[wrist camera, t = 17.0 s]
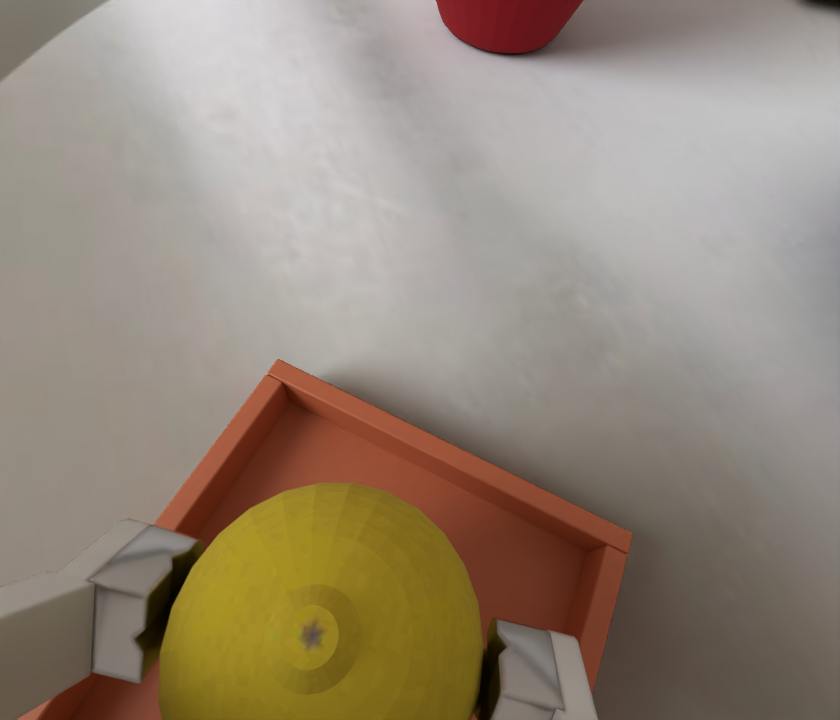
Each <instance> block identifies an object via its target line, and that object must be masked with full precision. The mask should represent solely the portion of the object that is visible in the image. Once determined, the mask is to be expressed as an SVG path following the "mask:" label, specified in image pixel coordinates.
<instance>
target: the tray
mask: <svg viewBox="0 0 840 720" xmlns="http://www.w3.org/2000/svg"><path fill="white" fill-rule="evenodd" d="M317 483H357V484H361V485H365V486H368V487H372V488H376V489H380V490H383V491H387V492H389V493H391V494H393V495H394V496H396V497H398V498H400V499H402V500H403V501H405V502H407V503H409V504H410V505H412V506H414V507H416V508H418V509H419V510H420V511H421V512H422V513H423V514H424V515H425V516H427V517H428V518H429V519H430V520H431V521H432V522H433V523H434V524H435V525H436V526H437V527H438V528H439V529H440V530H441V531H442V532H444V533H445V535H446V536H447V538H448V540H449V541H450V543H451V544H452V546H453V547H454V549H455V551H456V552H457V554H458V555H459V557H460V558H461V560H462V561H463V563H464V565H465V567H466V570H467V572H468V575H469V578H470V581H471V584H472V586H473V589H474V592H475V595H476V598H477V601H478V603H479V611H480V619H481V627H482V635H483V643H484V650H485V649H486V648H487V631H488V628H489V625H490V622H491V620H492V618H493V617H498V618H501V619H505V620H509V621H513V622H517V623H521V624H525V625H529V626H532V627H536V628H540V629H544V630H551V631H555V632H559V633H563V634H567V635H571V636H574V637H575V638H576V639H577V641H578V644H579V648H580V652H581V655H582V659H583V663H584V667H585V671H586V675H587V678H588V682H589V686H590V690H591V694H593V690H594V686H595V682H596V678H597V674H598V670H599V666H600V662H601V658H602V655H603V651H604V647H605V643H606V639H607V635H608V631H609V627H610V623H611V619H612V615H613V612H614V608H615V604H616V600H617V596H618V592H619V588H620V584H621V580H622V576H623V572H624V568H625V565H626V561H627V555H626V554H628V552H629V549H630V545H631V541H632V537H633V534H632V533H631V532H629V531H627V530H625V529H623V528H621V527H619V526H617V525H615V524H613V523H611V522H609V521H607V520H605V519H603V518H601V517H599V516H596V515H594V514H592V513H590V512H588V511H586V510H584V509H582V508H580V507H578V506H576V505H574V504H572V503H570V502H568V501H566V500H564V499H562V498H560V497H558V496H556V495H554V494H552V493H550V492H548V491H546V490H544V489H542V488H540V487H538V486H536V485H534V484H531V483H529V482H527V481H525V480H523V479H521V478H519V477H517V476H515V475H513V474H511V473H509V472H507V471H505V470H503V469H501V468H499V467H497V466H495V465H493V464H491V463H489V462H487V461H485V460H483V459H481V458H479V457H477V456H475V455H473V454H471V453H468V452H466V451H464V450H462V449H460V448H458V447H456V446H454V445H452V444H450V443H448V442H446V441H444V440H442V439H440V438H438V437H436V436H434V435H432V434H430V433H428V432H426V431H424V430H422V429H420V428H418V427H416V426H414V425H412V424H410V423H408V422H406V421H403V420H401V419H399V418H397V417H395V416H393V415H391V414H389V413H387V412H385V411H383V410H381V409H379V408H377V407H375V406H373V405H371V404H369V403H367V402H365V401H363V400H361V399H359V398H357V397H355V396H353V395H351V394H349V393H347V392H345V391H343V390H340V389H338V388H336V387H334V386H332V385H330V384H328V383H326V382H324V381H322V380H320V379H318V378H316V377H314V376H312V375H310V374H308V373H306V372H304V371H302V370H300V369H298V368H296V367H294V366H292V365H290V364H288V363H286V362H284V361H282V360H279V359H278V360H277V361H276V362H275V363H274V365H273V366H272V367H271V369H270V370H269V371H268V375H266V376H265V377H264V378H263V379H262V381H261V382H260V383H259V385H258V386H257V387H256V389H255V390H254V391H253V393H252V394H251V395H250V397H249V398H248V399H247V401H246V402H245V403H244V405H243V406H242V407H241V409H240V410H239V411H238V413H237V414H236V415H235V417H234V418H233V419H232V421H231V422H230V423H229V425H228V426H227V427H226V429H225V430H224V431H223V433H222V434H221V435H220V437H219V438H218V439H217V441H216V442H215V443H214V445H213V446H212V447H211V449H210V450H209V451H208V453H207V454H206V455H205V457H204V458H203V459H202V461H201V462H200V463H199V465H198V466H197V467H196V469H195V470H194V471H193V473H192V474H191V475H190V477H189V478H188V479H187V481H186V482H185V483H184V485H183V486H182V487H181V489H180V490H179V491H178V493H177V494H176V495H175V497H174V498H173V500H172V501H171V502H170V504H169V505H168V506H167V508H166V509H165V510H164V512H163V513H162V514H161V516H160V517H159V518H158V520H157V521H156V522H155V524H154V525H156V526H159V527H163V528H166V529H170V530H173V531H176V532H180V533H183V534H187V535H190V536H193V537H197V538H200V539H202V540H203V541H204V542H205V551H206V549H207V548H208V547H209V546H210V544H211V543H212V542H213V541H214V539H215V538H216V537H217V536H218V534H219V533H220V532H222V531H223V530H224V529H225V528H227V527H228V526H229V525H230V524H231V523H233V522H234V521H235V520H236V519H238V518H239V517H240V516H241V515H242V514H244V513H245V512H246V511H247V510H249V509H250V508H252V507H254V506H256V505H258V504H260V503H262V502H264V501H266V500H268V499H270V498H272V497H274V496H276V495H278V494H280V493H282V492H284V491H287V490H292V489H296V488H300V487H304V486H308V485H312V484H317ZM159 664H160V658H159V659H158V661H157V662H156V663H155V665H154V666H153V667H152V669H151V670H150V671H149V673H148V674H147V675H146V677H145V678H144V679H143V681H142V682H141V683H140V684H138V683H134V682H130V681H126V680H122V679H118V678H114V677H110V676H106V675H102V674H98V673H93V672H91V674H90V676H88V677H87V678H85V679H83V680H82V681H80V682H78V683H77V684H75V685H73V686H72V687H70V688H68V689H67V690H65V691H63V692H62V693H60V694H58V695H57V696H55V697H53V698H52V699H50V700H48V701H47V702H45V703H43V704H42V705H40V706H38V707H37V708H35V709H33V710H32V711H30V712H28V713H27V714H25V715H23V716H22V717H20V718H18V719H17V720H162V718H161V713H160V708H159V703H158V690H159ZM471 720H477V719H476V717H475V715H474V714H472V718H471Z"/></svg>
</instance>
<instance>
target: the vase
mask: <svg viewBox="0 0 840 720" xmlns="http://www.w3.org/2000/svg"><path fill="white" fill-rule="evenodd" d="M582 1H583V0H436V2H437V5H438V9H439V12H440V15H441V18H442V20H443V22H444V24H445V25H446V26H447V28H448V29H449V30H450V31H451V32H452V33H453V34H454V35H455V36H456V37H458V38H459V39H461V40H462V41H464V42H466V43H468V44H470V45H472V46H475V47H477V48H480V49H484V50H487V51H491V52H498V53H524V52H529V51H533V50H536V49H538V48H540V47H543V46H545V45H546V44H548V43H549V42H550V41H552V40H553V39H554V38H555V36H556V35H557V34H558V33H559V32H560V30H561V29H562V28H563V26H564V25H565V24H566V23H567V21H568V20H569V19H570V17H571V16H572V15H573V13H574V12H575V11H576V9H577V8H578V7H579V5H580V4H581V3H582Z"/></svg>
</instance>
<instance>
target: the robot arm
mask: <svg viewBox="0 0 840 720" xmlns="http://www.w3.org/2000/svg"><path fill="white" fill-rule="evenodd" d="M204 552H205V542H204V541H203V540H202V539H200V538H197V537H193V536H190V535H187V534H183V533H180V532H176V531H173V530H170V529H166V528H163V527H159V526H156V525H150V524H147V523H144V522H140V521H137V520H133V519H130V518H128V519H125V520H121V521H120V522H118V523H117V524H116V525H115V526H113V527H112V528H111V529H110V530H109V531H107V532H106V533H105V534H104V535H102V536H101V537H100V538H99V539H98V540H96V541H95V542H94V543H93V544H91V545H90V546H89V547H88V548H86V549H85V550H84V551H83V552H82V553H80V554H79V555H78V556H77V557H75V558H74V559H73V560H72V561H71V562H69V563H68V564H67V565H66V566H64V567H63V568H62V569H61V570H60V571H58V572H57V573H55V572H51V571H46V572H43V573H40V574H37V575H34V576H31V577H28V578H25V579H22V580H19V581H15V582H12V583H9V584H6V585H3V586H0V720H17V719H18V718H20V717H22V716H23V715H25V714H27V713H28V712H30V711H32V710H33V709H35V708H37V707H38V706H40V705H42V704H43V703H45V702H47V701H48V700H50V699H52V698H53V697H55V696H57V695H58V694H60V693H62V692H63V691H65V690H67V689H68V688H70V687H72V686H73V685H75V684H77V683H78V682H80V681H82V680H83V679H85V678H87V677H88V676H90V674H91V672H93V673H98V674H102V675H106V676H110V677H114V678H118V679H122V680H126V681H130V682H134V683H138V684H140V683H141V682H142V681H143V679H144V678H145V677H146V675H147V674H148V673H149V671H150V670H151V669H152V667H153V666H154V665H155V663H156V662H157V661H158V659H159V658H160V650H161V647H162V643H163V639H164V635H165V631H166V628H167V624H168V620H169V616H170V612H171V609H172V606H173V604H174V602H175V600H176V598H177V596H178V594H179V592H180V590H181V588H182V586H183V584H184V582H185V580H186V579H187V577H188V575H189V573H190V571H191V569H192V567H193V566H194V564H195V563H196V562H197V561H198V559H199V558H200V557H201V556H202V554H203V553H204ZM473 714H474V715H475V717H476V719H477V720H598V717H597V713H596V709H595V705H594V701H593V698H592V694H591V690H590V686H589V682H588V678H587V675H586V671H585V667H584V663H583V659H582V655H581V652H580V648H579V644H578V641H577V639H576V638H575V637H574V636H571V635H567V634H563V633H559V632H555V631H551V630H544V629H540V628H536V627H532V626H529V625H525V624H521V623H517V622H513V621H509V620H505V619H501V618H498V617H493V618H492V620H491V622H490V625H489V628H488V631H487V648H486V649H485V650H484V651H483V662H482V673H481V683H480V693H479V696H478V699H477V702H476V705H475V708H474V711H473Z"/></svg>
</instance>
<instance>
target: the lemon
mask: <svg viewBox="0 0 840 720" xmlns="http://www.w3.org/2000/svg"><path fill="white" fill-rule="evenodd" d="M483 651H484V643H483V635H482V627H481V619H480V611H479V603H478V601H477V598H476V595H475V592H474V589H473V586H472V584H471V581H470V578H469V575H468V572H467V570H466V567H465V565H464V563H463V561H462V560H461V558H460V557H459V555H458V554H457V552H456V551H455V549H454V547H453V546H452V544H451V543H450V541H449V540H448V538H447V536H446V535H445V533H444V532H442V531H441V530H440V529H439V528H438V527H437V526H436V525H435V524H434V523H433V522H432V521H431V520H430V519H429V518H428V517H427V516H425V515H424V514H423V513H422V512H421V511H420V510H419V509H418V508H416V507H414V506H412V505H410V504H409V503H407V502H405V501H403V500H402V499H400V498H398V497H396V496H394V495H393V494H391V493H389V492H387V491H383V490H380V489H376V488H372V487H368V486H365V485H361V484H357V483H317V484H312V485H308V486H304V487H300V488H296V489H292V490H287V491H284V492H282V493H280V494H278V495H276V496H274V497H272V498H270V499H268V500H266V501H264V502H262V503H260V504H258V505H256V506H254V507H252V508H250V509H249V510H247V511H246V512H245V513H244V514H242V515H241V516H240V517H239V518H238V519H236V520H235V521H234V522H233V523H231V524H230V525H229V526H228V527H227V528H225V529H224V530H223V531H222V532H220V533H219V534H218V536H217V537H216V538H215V539H214V541H213V542H212V543H211V544H210V546H209V547H208V548H207V549H206V551H205V552H204V553H203V554H202V556H201V557H200V558H199V559H198V561H197V562H196V563H195V564H194V566H193V567H192V569H191V571H190V573H189V575H188V577H187V579H186V580H185V582H184V584H183V586H182V588H181V590H180V592H179V594H178V596H177V598H176V600H175V602H174V604H173V606H172V609H171V612H170V616H169V620H168V624H167V628H166V631H165V635H164V639H163V643H162V647H161V650H160V664H159V690H158V703H159V708H160V713H161V718H162V720H471V718H472V714H473V711H474V708H475V705H476V702H477V699H478V696H479V693H480V683H481V673H482V662H483Z"/></svg>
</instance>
